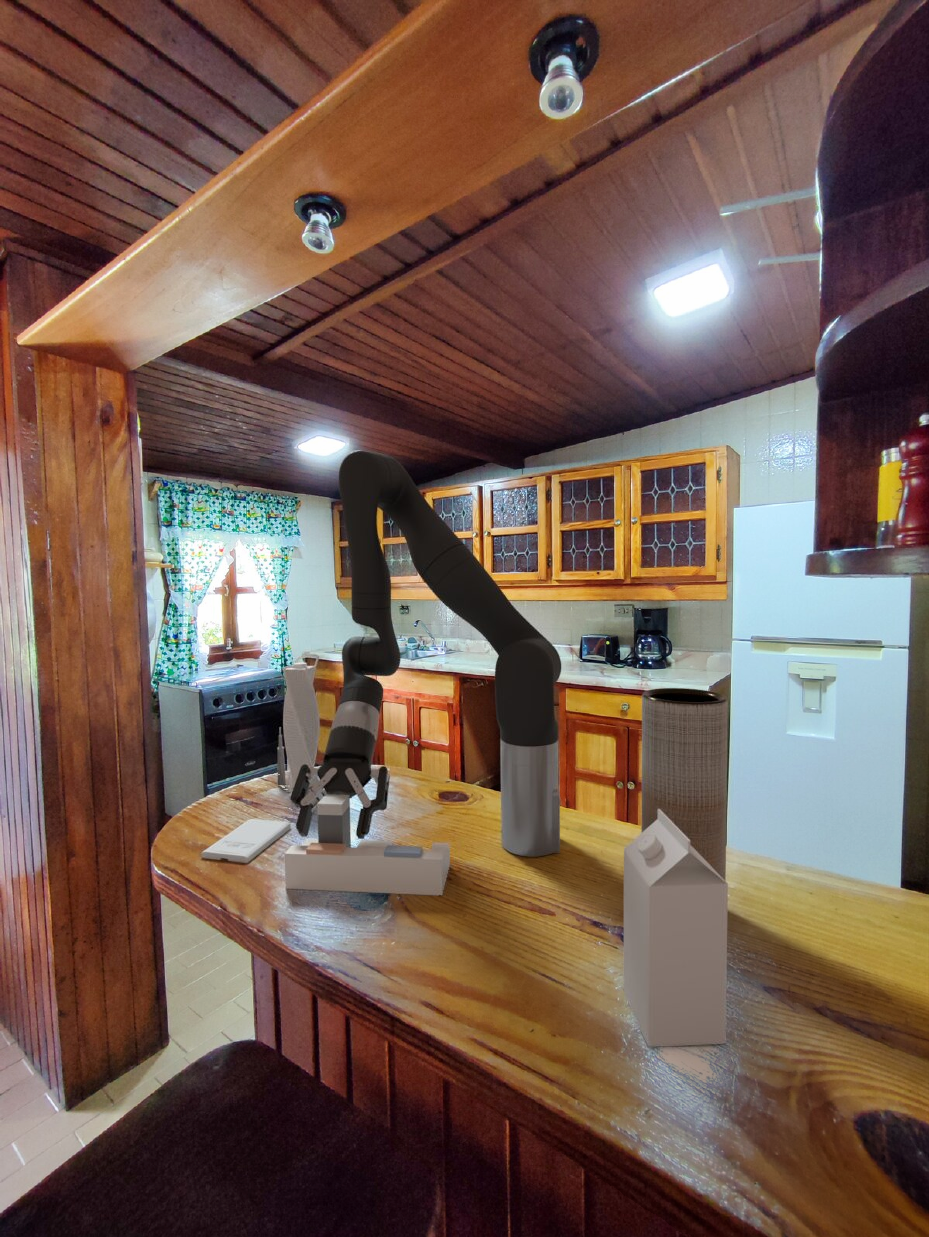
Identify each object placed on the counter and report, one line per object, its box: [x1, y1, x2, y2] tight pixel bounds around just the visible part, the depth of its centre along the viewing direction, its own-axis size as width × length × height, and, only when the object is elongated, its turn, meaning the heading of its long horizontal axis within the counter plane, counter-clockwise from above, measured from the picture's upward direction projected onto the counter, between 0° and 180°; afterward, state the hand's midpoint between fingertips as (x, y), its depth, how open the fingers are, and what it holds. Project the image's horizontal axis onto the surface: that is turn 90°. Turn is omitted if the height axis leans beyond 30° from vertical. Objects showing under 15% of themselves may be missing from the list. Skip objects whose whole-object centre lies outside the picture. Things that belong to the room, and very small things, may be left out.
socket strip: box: [284, 837, 451, 897], centre depth 79 cm, size 22×8×6 cm, turn 84°
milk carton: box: [623, 809, 729, 1048], centre depth 52 cm, size 7×7×19 cm
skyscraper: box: [276, 654, 321, 793], centre depth 117 cm, size 8×8×28 cm
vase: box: [641, 687, 729, 882], centre depth 69 cm, size 10×10×28 cm
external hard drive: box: [200, 818, 292, 864], centre depth 91 cm, size 2×8×12 cm
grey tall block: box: [316, 794, 352, 847], centre depth 81 cm, size 4×4×11 cm
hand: (331, 835), depth 79 cm, fingers open, 8 cm apart
